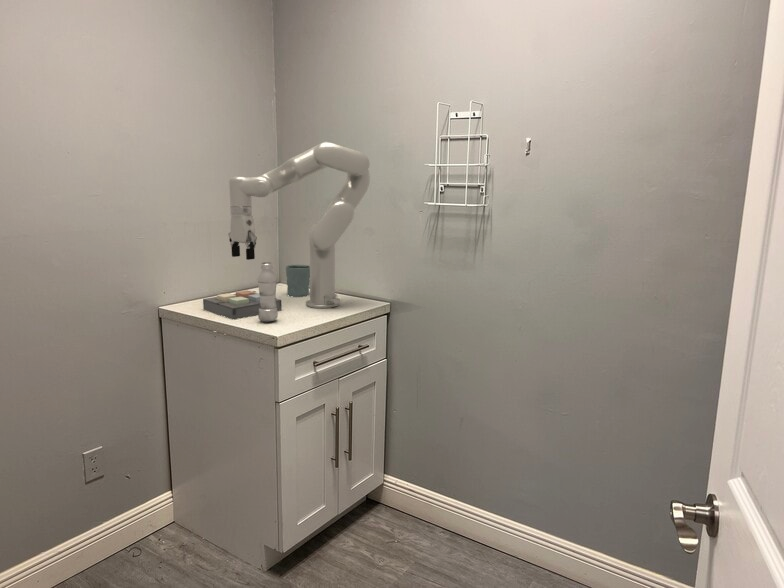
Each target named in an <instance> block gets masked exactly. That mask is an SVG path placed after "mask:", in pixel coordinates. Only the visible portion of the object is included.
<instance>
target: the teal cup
mask: <svg viewBox="0 0 784 588" xmlns="http://www.w3.org/2000/svg"><path fill="white" fill-rule="evenodd" d="M285 274H286V275H285V276H286V285H287V286H286V287H287V296H288V295H289V296H288V297H291V296H293V297H292V298H303V296H305V297H308V296H309V295H310V265H308V264H307V265H306V264H289V265H286V266H285ZM307 295H308V296H307Z"/></svg>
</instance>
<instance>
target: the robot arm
mask: <svg viewBox="0 0 784 588" xmlns="http://www.w3.org/2000/svg"><path fill="white" fill-rule="evenodd" d="M327 168H331V169H334V170H336V171H340V172H343V173H346V174H347V177H346V181H345V182H344V184H343V185H342V187H341V188H340V190H339V191H338V193H337V194H336V195H335V197H334V198H333V199H332V200H331V202H330V203H328V206H327V208H326V211H325V212H324V214H323V215H322V217H321V218H320V219H319V221H318V222H315V223H314V224H313V225H311V227H310V229H309V232H308V242H309V243H308V245H309V247H308V248H309V266H310V278H309V280H310V281H309V299H308V300H306V302H305V305H306V306H307V307H310V308H315V309H316V308H317V309H328V308H329V309H331V308H336V307H338V306H339V305H340V302H341V299H340V298H339V297H337V293H336V247H335V246H336V244H337V242H339V240H340V239H341V237H342V236H343V234H344V233H345V231H346V230H347V229H348V227H349V226H350V225H351V223H352V221H353V220H354V218H355V217H354V216H355V210H356V209H357V207H358V206H359V204H360V202H361V201H362V199H363V198H364V197H365V195H366V193H367V192H368V188H369V187H370V179H371V178H370V170H369V168H370V159H369V157H368V156H367V155H366V154H365V153H364V152H362V151H359V150H356V149H352V148H350V147H346V146H344V145H343V146H342V145H339V144H337V143H335V142H334V143H333V142H330V141H322V142H321V143H319V144H317V145H315V146H313V147H311V148H309V149H307V150H305V151H303V152H301V153H300V154H297V155H294V156H293V157H291V158H289V159H287V160H286V161H285V162H283V164H281V165H279V166H277V167H276V168H273V169H271V170H269V171H267V172H265V173H263V174H261V175H259V176H252V177H248V176H239V175H238V176H231V177H230V178H229V180H228V183H229V184H228V187H229V188H228V189H229V207H230V223H229V224H230V227H229V228H230V229H229V230H230V231H229V232H228V238H229V242H230V247H231V257H232V258H235V257H241V247H240V243H241V244H244V245H245V246H246V247H245V257H246V258H245V259H246V260H248V261H249V260H255V257H256V256H255V248H256V245H257V240H258V238H257V236H256V225H255V221H254V215H253V206H252V197H256V198H266V197H268V196H269V195H271V194H273V193H275V192H277V191H278V190H281V189H283V188H285V187H286V186H289V185H291V184H294V183H298V182H300V181H302V180H305V179H306V178H308V177H310V176H312V175H315V174H316V173H319V172H320V171H322V170H325V169H327Z"/></svg>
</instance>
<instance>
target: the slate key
mask: <svg viewBox="0 0 784 588" xmlns="http://www.w3.org/2000/svg"><path fill="white" fill-rule="evenodd" d="M259 296H260V294H259V293H257V294H254V295H248V299H249V300H250V301H254V302H259V301H260V297H259Z"/></svg>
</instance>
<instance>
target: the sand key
mask: <svg viewBox="0 0 784 588" xmlns="http://www.w3.org/2000/svg"><path fill="white" fill-rule="evenodd" d="M233 294H234V293H223V294H222V293H221V294H217V295H216V297H217V300H220V301H223V302H225V301H229V298H235V297H236V295H233Z"/></svg>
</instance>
